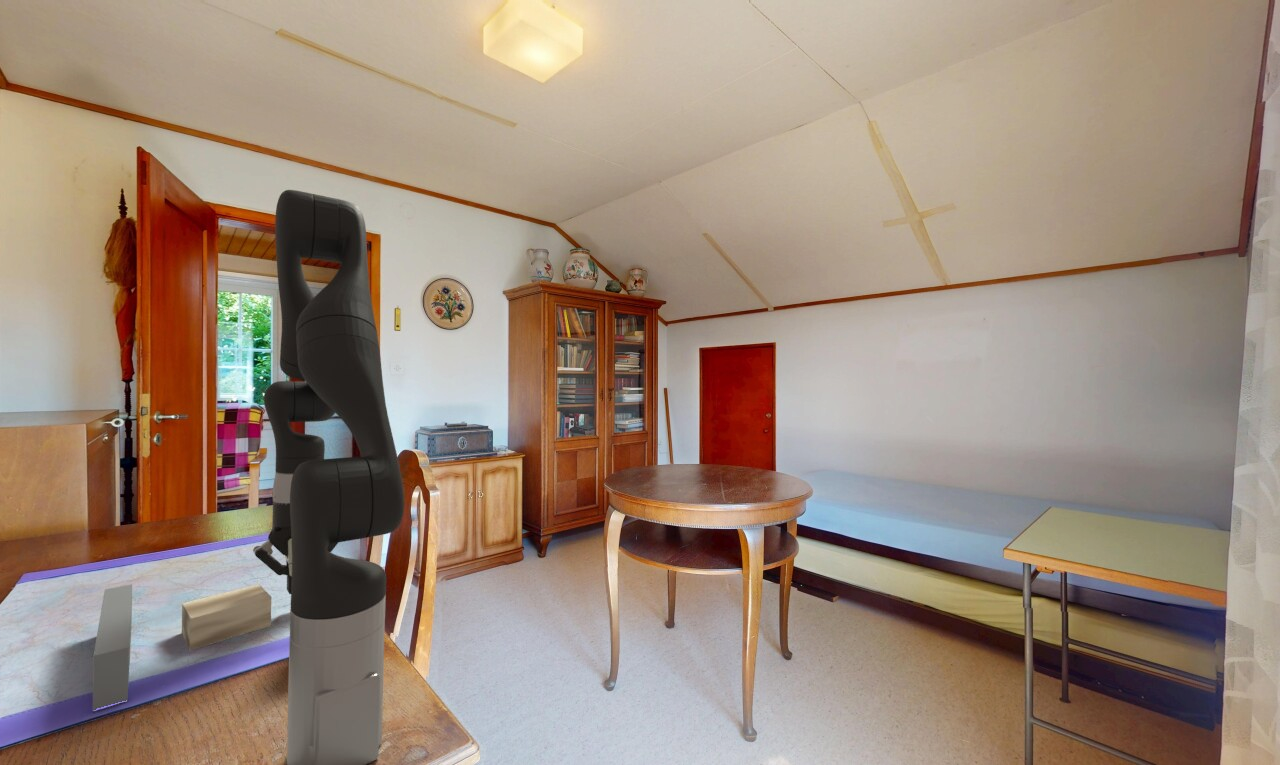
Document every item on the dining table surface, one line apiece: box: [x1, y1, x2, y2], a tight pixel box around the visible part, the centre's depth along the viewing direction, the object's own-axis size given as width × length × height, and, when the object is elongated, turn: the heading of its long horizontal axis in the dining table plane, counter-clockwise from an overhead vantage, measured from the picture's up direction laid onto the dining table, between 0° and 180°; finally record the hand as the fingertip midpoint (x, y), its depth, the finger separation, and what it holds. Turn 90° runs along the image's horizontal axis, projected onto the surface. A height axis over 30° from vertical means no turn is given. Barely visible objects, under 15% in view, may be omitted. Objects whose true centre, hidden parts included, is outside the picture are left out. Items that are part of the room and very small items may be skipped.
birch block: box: [181, 584, 272, 651], centre depth 81 cm, size 7×10×5 cm
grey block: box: [92, 583, 133, 711], centre depth 71 cm, size 24×3×7 cm, turn 45°
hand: (297, 594), depth 88 cm, fingers closed
